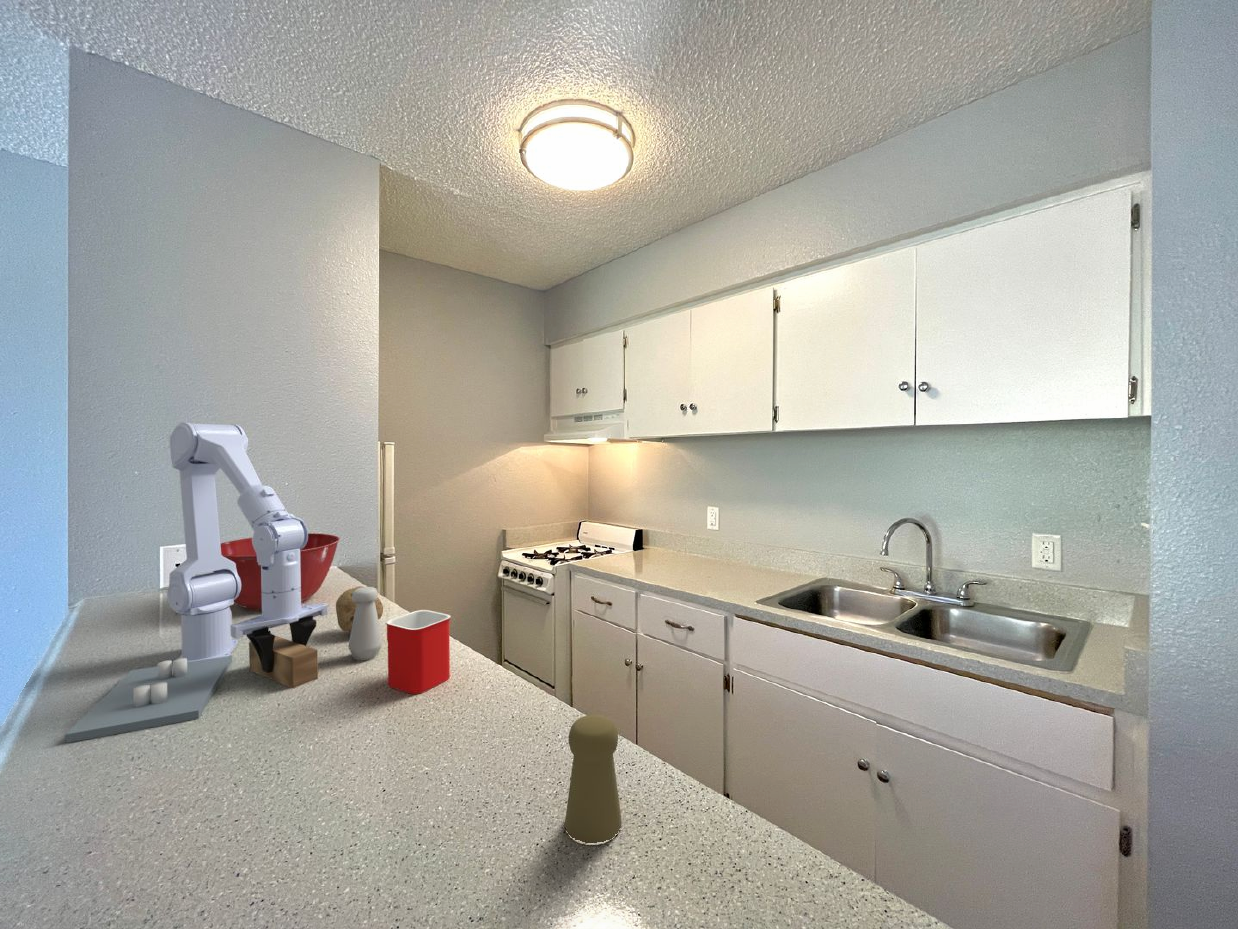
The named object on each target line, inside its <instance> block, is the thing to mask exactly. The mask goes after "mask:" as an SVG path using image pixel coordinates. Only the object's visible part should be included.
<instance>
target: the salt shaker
mask: <svg viewBox="0 0 1238 929" xmlns="http://www.w3.org/2000/svg"><path fill="white" fill-rule="evenodd" d="M378 592H379V591H378V589H377V588H375V587H373V586H362V588H359V589H356V590H355V591H354V592H353V595H352V599H353V602H354V603H357V605H356V610H355V615H354V620H353V625H352V630H351V634H350V635H349V640H348V645H347V647H348V650H349V651H350V654H351V655H352V658H353V659H354V661H360V662H362V661H363V662H364V661H369V660H372V659H375V658H376V657H377V656H378V655H379V654H380V650H381V648H382V645H383V637H382V632H381V631H382V630H381V627H380V621H379V620H378V616H377V611H376V606H375V600H376V599H377V598H379V593H378Z"/></svg>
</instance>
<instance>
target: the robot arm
mask: <svg viewBox="0 0 1238 929" xmlns="http://www.w3.org/2000/svg"><path fill="white" fill-rule="evenodd" d="M248 447H249V438H248V437H247V435H246V432H245V430H244V429H243V428H242V427H241V426H240V425H239V424H235V423H234V424H233V423H232V424H217V423H215V424H214V423H212V424H211V423H193V422H191V423H190V422H185V421H183V422H182V421H181V422H180V423H178V424H177V425H176V426H175V427H174V429H173V431H172V432H171V433H170V436H169V449H170V460H171V467H172V468H174V469H176V470H177V471H179V481H180V485H179V486H180V496H181V506H182V507H181V508H182V518H183V519H182V520H183V531H184V539H185V540H184V541H185V552H186V553H185V554H186V559H185V560H184V561H183V562H182V563H180V564H179V565H178V566H177V567H176V568H174V569H173V570H172V571H171V572H169V580H168V587H167V591H166V597H167V598H166V599H167V602H168V605H169V607H170V608H171V609H172V610H173V611H174V612H176V613H177V614H180V629H181V630H180V631H181V654H180V656H179V657H178V658H177V659H181V658H187V662H193V661H199V660H206V659H213V658H220V657H227V656H231V654H232V653H233V650H234V649H235V648H236V646H237V644H238V642H239V639H240V638H243V637H244V636H245V635H246V637H247V639H248V640H249V642H251V643H252V644H253V646H254V648H255V650H256V652H257V654H258V656H259V659H260V662H261V665H262V669H263V671H265V672H267V673H270V672H272V671H273V656H272V653H273V644H274V638H275V636H276V635H275V634H272V631H271V630H269V629H272V628H277V627H281V626H285V625H288V624H289V630H290V634H291V635H290V636H291V641H292V642H295V643H298V644H301V645H304V646H307V645H308V642H309V640H310V638H311V636H312V634H313V632H314V630H315V629H316V627H317V620H316V619H314V618H315V617H319V616H320V617H323V616H327V615H328V604H327V603H324V602H319V603H313V604H308V605H302V603H301V569H300V549H302V548H304V546H305V545H306V543H307V540H308V533H309V532H308V527H307V525H306V524H305V521H304V520H303V519H302V518H300V517H297V516H295V515H294V514H293V513H289V512H288V510H287V509H286V507H285V506H284V504H283V502H282V501H281V500H280V498H279V496H278V495H277V493H276V491H275V490H274V489H273V487H271V486H269V485H263V484H262V482H261V480H260V478H259V476H258V474H257V472H256V470H255V468H254V465H253V464H252V462H251V460H250V458H249V456H248V453H247V451H248ZM220 469H221V470H222V472H223V473H224V474H225V476H226V477H227V478H228V480H229V481H230V482H231V484H232V485H233V486H234V488H235V489H236V490H237V491H238V493H239V496H238V498H237V501H236V502H237V505H238V507H239V509H240V511H241V512H242V514H243V516H244V517H245V519H246V521H247V522H248V524H249V525H250V528H251V529H252V531H253V534H252V535H253V536H252V537H253V538H252V537H251V538H252V544H253V548H254V550H255V551H256V554H257V562H258V565H261V589H262V610H261V614H260V615H257V616H254V617H251V618H248V619H244V620H243V621H240V622H237V623H233V615H232V610H231V606H232V605H234V604H235V602H234V600H235V599H236V598H237V597H238V596H239V593H240V591H241V580H240V577H239V576H238V573H237V570H236V564H235V563H234V562H233V561H231V560H229V559H227V558H225V557H223V556H222V555H221V546H220V543H221V537H220V525H219V524H220V523H219V522H220V521H219V513H218V512H219V510H218V500H217V491H216V490H217V489H216V479H215V476H216V474H217V472H219V471H220ZM216 570H217V571H218V572H213V571H216ZM233 638H234V639H233ZM307 647H308V646H307Z"/></svg>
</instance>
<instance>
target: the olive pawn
mask: <svg viewBox="0 0 1238 929" xmlns="http://www.w3.org/2000/svg"><path fill="white" fill-rule="evenodd" d="M618 743H619V732H618V729H617V726H616V724H615V723H614V721H613V720H611V719H610V718H609V717H607V716H605V715H601V714H588V715H583V716H581V717H580V718H578V719H576V720H575V721H574V722H573V723H572V725H571V727H570V729H569V732H568V744H569V749H570V753H571V754H572V755H573V760H572V766H571V774H570V780H569V788H568V789H569V791H568V796H567V805H566V812H565V819H564V829H565V828H566V831H567V832H568V834H569V835H570V836H571V837H572V838H575V840H580V841H582V842H585V843H597V842H604V841H606V840H610V839H612V838H613V837H614V836H615V834H617V833H618V831H619V829H620V828H621V829H622V826H621V822H622V823H623V821H622V815H621V814H622V813H621V805H620V797H619V791H618V781H617V774H616V767H615V759H614V753H615V751H617V748H618ZM566 831H565V832H566Z"/></svg>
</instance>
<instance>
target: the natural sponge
mask: <svg viewBox="0 0 1238 929" xmlns="http://www.w3.org/2000/svg"><path fill="white" fill-rule="evenodd" d="M362 587H363V586H356V587H352V588H349V589H347V590H345V591H344V592H343V593H342V594H340V596H339V597H338V598H337V600H336V603H335V611H336V617H337V624H338V627H339V628H340V629H341V630H342V631H343V632H347V633H349V634H350V635H351V630H352V625H353V620H354V615H355V610H356V605H357V603H354V602H353V599H352V595H353V592H354V591H355V590H356V589H359V588H362ZM375 606H376V611H377V616H378V621H379V620H380V619H381V618H382V617H383V614H384V604H383V602H382V601H381V599H380V597H378V598H377V599H376V600H375Z"/></svg>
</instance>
